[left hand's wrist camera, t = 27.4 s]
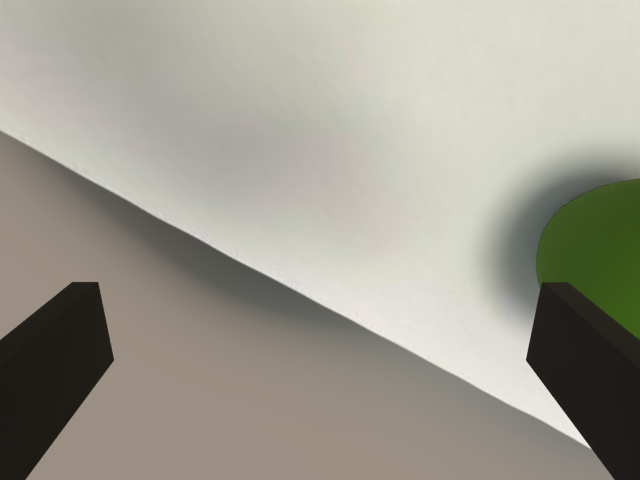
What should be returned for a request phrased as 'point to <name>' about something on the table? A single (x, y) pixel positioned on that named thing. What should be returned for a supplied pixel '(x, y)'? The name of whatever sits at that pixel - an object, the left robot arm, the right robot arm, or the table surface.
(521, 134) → the table surface
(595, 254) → the vase
